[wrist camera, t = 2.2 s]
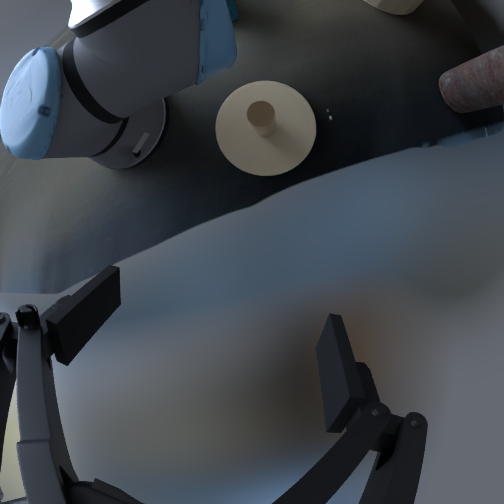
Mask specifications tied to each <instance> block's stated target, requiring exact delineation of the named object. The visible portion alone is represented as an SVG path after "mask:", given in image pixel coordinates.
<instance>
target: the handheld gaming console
mask: <svg viewBox="0 0 504 504" xmlns="http://www.w3.org/2000/svg"><path fill="white" fill-rule="evenodd" d="M226 3H227V7H228V10H229V14H230V18H231V21H232V22H235V21H237V18H238V17H239V16H238V13H237V10H236V6H235V3H234V0H226Z"/></svg>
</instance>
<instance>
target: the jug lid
mask: <svg viewBox="0 0 504 504" xmlns="http://www.w3.org/2000/svg"><path fill="white" fill-rule="evenodd" d="M315 136H316V121H315V117H314V113H313V111H312V109H311V107H310V105H309V103H308V102H307V101H306V99H305V98H304V97H303V96H302V95H301V94H300V93H299V92H297V91H296V90H295V89H293V88H291V87H289V86H287V85H285V84H282V83H278V82H273V81H258V82H253V83H249V84H247V85H244V86H242V87H240V88H238V89H237V90H236V91H234V92H233V93H232V94H231V95H230V96H228V98H227V99H226V100H225V101H224V103H223V104H222V106H221V108H220V110H219V112H218V115H217V119H216V138H217V142H218V144H219V147H220V149H221V151H222V152H223V154H224V155H225V157H226V158H227V159H228V160H229V161H230V162H231V163H232V164H233V165H235V166H236V167H237V168H239V169H241V170H242V171H245V172H247V173H250V174H254V175H259V176H272V175H278V174H282V173H285V172H287V171H289V170H291V169H293V168H295V167H296V166H297V165H299V164H300V163H301V162H302V161H303V160H304V159H305V158H306V157H307V155H308V154H309V152H310V151H311V149H312V146H313V144H314V141H315Z"/></svg>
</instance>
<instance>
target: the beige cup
mask: <svg viewBox="0 0 504 504" xmlns="http://www.w3.org/2000/svg"><path fill="white" fill-rule="evenodd" d="M364 1H365V2H367V3H368V4H370V5H371V6H373V7H375V8H377V9H379V10H381V11H384V12H387V13H391V14H396V15H406V14H409V13H411V12H413V11H414V10H415V9H416V8H417V7H418V6H419V5H420V4H421V3H422V1H423V0H364Z"/></svg>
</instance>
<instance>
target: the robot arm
mask: <svg viewBox="0 0 504 504" xmlns="http://www.w3.org/2000/svg"><path fill="white" fill-rule="evenodd" d="M70 1H71V2H72V12H71V16H70V20H69V24H68V27H69V28H70V29H71V30H72V32H73V33H74V34H75V35H76V36H75V37H74V38H73V39H71V40H70V41H69V42H68V43H66V44H65V45H64V46H63V47H61V48H60V49H58V50H56V51H55V49H54V48H51V47H43V48H36V49H33V50H31V51H30V52H29V53H27V54H26V55H25V56H24V57H23V58H22V59H21V60H20V62H19V63H18V64H17V66H16V67H15V69H14V70H13V72H12V74H11V76H10V78H9V80H8V82H7V85H6V88H5V91H4V94H3V98H2V102H1V108H0V132H1V137H2V141H3V143H4V145H5V147H6V149H7V150H8V151H9V152H10V153H11V154H13V156H15V157H17V158H24V159H32V160H40V159H43V158H66V157H88V158H90V159H92V160H93V161H95V162H96V163H98V164H100V165H102V166H104V167H107V168H111V169H126V168H131V167H134V166H137V165H139V164H141V163H142V162H144V161H145V160H146V159H148V158H149V157H150V156H151V155H152V154H153V153H154V152H155V151H156V149H157V148H158V146H159V145H160V143H161V142H162V140H163V138H164V135H165V133H166V129H167V126H168V119H169V110H168V103H167V100H166V98H165V97H167V96H169V95H171V94H173V93H175V92H178V91H180V90H182V89H184V88H186V87H189V86H191V85H193V84H195V83H196V85H199V84H201V83H202V81H203V80H205V79H207V78H209V77H212V76H214V75H216V74H218V73H221V72H223V71H225V70H227V69H229V68H230V67H231V66H232V65H233V63H234V62H235V60H236V56H237V47H236V40H235V35H234V30H233V26H232V21H231V18H230V14H229V10H228V7H227V3H226V0H70ZM120 305H121V298H120V269H119V267H116V266H112V265H109V266H108V267H106V268H105V269H104V270H103V271H101V272H100V273H99V274H98V275H96V276H95V277H94V278H93V279H92V280H90V281H89V282H88V283H86V284H85V285H84V286H83V287H82V288H80V289H79V290H78V291H77V292H76V293H74V294H73V295H72V296H70V295H67V296H65V297H62V298H60V299H59V300H58V301H57V302H56V303H55V304H53V305H52V306H51V307H50V308H49V309H47V310H46V311H45V312H44V313H43V314H42V315H40V316H39V314H38V310H37V308H36V306H34V305H31V304H26V305H23V306H20V307H19V308H18V309H17V310H16V312H15V314H16V317H17V321H18V323H15V322H11V319H10V316H9V315H8V314H7V313H4V312H2V313H0V471H1V463H2V452H3V444H4V436H5V429H6V423H7V418H8V412H9V407H10V402H11V398H12V394H13V389H14V385H15V381H16V378H17V408H18V421H19V429H20V442H17V454H18V460H19V466H20V471H21V476H22V480H23V485H24V489H25V493H26V497H22V498H19V499H15V500H11V501H7V502H3V503H1V500H2V499H3V492H2V491H1V488H0V504H143V503H141V502H139V501H138V500H136V499H134V498H133V497H131V496H130V495H128V494H126V493H125V492H124V491H122V490H121V489H119V488H116V487H114V486H112V485H110V484H107V483H105V482H103V481H101V480H99V479H96V478H95V480H94V482H88V481H79V479H78V477H77V475H76V473H75V471H74V469H73V467H72V463H71V460H70V456H69V453H68V449H67V446H66V442H65V438H64V433H63V429H62V424H61V420H60V415H59V409H58V404H57V398H56V391H55V385H54V377H53V368H52V360H51V356H52V355H53V353H54V354H55V357H56V360H57V361H58V362H60V363H62V364H64V365H66V366H68V365H69V363H70V362H71V361H72V360H73V359H74V357H75V356H76V355H77V354H78V353H79V351H80V350H81V349H82V348H83V347H84V346H85V344H86V343H87V342H88V341H89V340H90V339H91V337H92V336H93V335H94V334H95V333H96V332H97V330H98V329H99V328H100V327H101V326H102V325H103V324H104V322H105V321H106V320H107V319H108V318H109V317H110V316H111V314H112V313H113V312H114V311H115V310H116V309H117V308H118V307H119V306H120ZM316 354H317V361H318V368H319V376H320V383H321V391H322V399H323V407H324V416H325V424H326V432H331V433H341V432H342V431H343V429H344V428H345V427H346V429H347V431H346V432H345V433H344V435H343V436H342V437H341V438H340V439H339V440H338V441H337V442H336V443H335V445H334V446H333V447H332V448H331V449H330V450H329V451H328V452H327V453H326V454H325V455H324V456H323V457H322V458H321V459H320V460H319V461H318V462H317V463H316V464H315V465H314V466H313V467H312V468H311V469H310V470H309V471H308V472H307V473H306V474H305V475H304V476H303V477H302V478H301V479H300V480H299V481H298V482H297V483H295V484H294V485H293V486H292V487H291V488H290V489H289V490H288V491H286V492H285V493H284V494H283V495H282V496H281V497H279V498H278V499H277V500H276V501H275V502H273V503H272V504H326V502H327V501H328V500H329V499H330V498H331V497H332V496H333V495H334V494H335V493H336V491H337V490H338V489H339V488H340V487H341V485H342V484H343V483H344V482H345V481H346V480H347V478H348V477H349V476H350V475H351V473H352V472H353V471H354V470H355V468H356V467H357V466H358V465H359V463H360V462H361V461H362V459H363V458H364V457H365V455H366V454H367V453H368V451H369V450H373V451H377V452H378V453H377V456H376V459H375V462H374V465H373V468H372V471H371V473H370V476H369V479H368V482H367V484H366V487H365V489H364V492H363V494H362V497H361V499H360V502H359V504H414V500H415V496H416V492H417V488H418V483H419V479H420V474H421V469H422V463H423V457H424V451H425V444H426V436H427V427H428V424H427V421H426V418H425V417H424V416H423V415H421V414H419V413H417V412H411V413H409V414H407V416H406V417H405V418H404V417H400V416H397V415H393V414H391V412H390V410H389V408H388V407H387V406H386V405H385V404H382V403H381V402H380V399H379V396H378V393H377V390H376V387H375V384H374V380H373V378H372V374H371V372H370V369H369V368H368V367H367V365H366V364H365V363H362V362H355V358H354V355H353V352H352V349H351V345H350V342H349V339H348V336H347V332H346V329H345V327H344V323H343V320H342V317H341V315H335V314H329V316H328V318H327V321H326V324H325V326H324V329H323V331H322V334H321V336H320V339H319V341H318V344H317V346H316Z"/></svg>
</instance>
